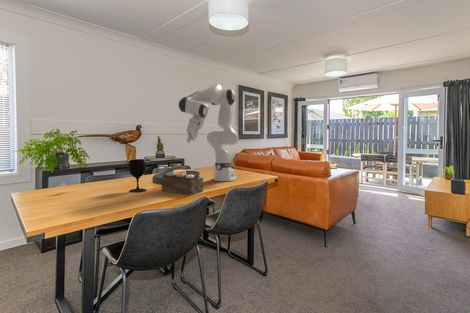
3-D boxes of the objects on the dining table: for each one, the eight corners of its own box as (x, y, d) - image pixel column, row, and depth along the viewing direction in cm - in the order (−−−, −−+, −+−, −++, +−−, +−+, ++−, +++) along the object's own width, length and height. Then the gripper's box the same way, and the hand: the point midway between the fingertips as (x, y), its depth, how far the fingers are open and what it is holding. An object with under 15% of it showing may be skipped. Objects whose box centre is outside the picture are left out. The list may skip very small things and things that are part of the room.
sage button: (170, 175, 173) (170, 172, 173) (176, 176, 171) (176, 173, 171) (164, 176, 169) (164, 173, 169) (170, 177, 167) (170, 174, 166)
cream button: (189, 177, 166) (189, 174, 166) (195, 178, 163) (195, 175, 163) (184, 179, 161) (184, 175, 161) (190, 179, 159) (190, 176, 159)
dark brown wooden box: (174, 187, 180) (174, 173, 179) (202, 191, 168) (202, 176, 167) (161, 190, 169) (161, 175, 168) (191, 195, 158) (191, 179, 157)
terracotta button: (179, 176, 170) (179, 173, 169) (185, 177, 167) (185, 174, 167) (174, 177, 165) (174, 174, 165) (180, 178, 163) (180, 175, 163)
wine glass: (135, 193, 161) (134, 161, 159) (125, 191, 167) (125, 160, 166) (149, 190, 169) (149, 159, 168) (140, 188, 176) (139, 158, 174)
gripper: (193, 128, 192) (185, 145, 188) (189, 117, 172) (181, 135, 169) (201, 131, 191) (194, 148, 188) (198, 120, 172) (190, 138, 168)
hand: (188, 142), depth 178 cm, fingers closed
